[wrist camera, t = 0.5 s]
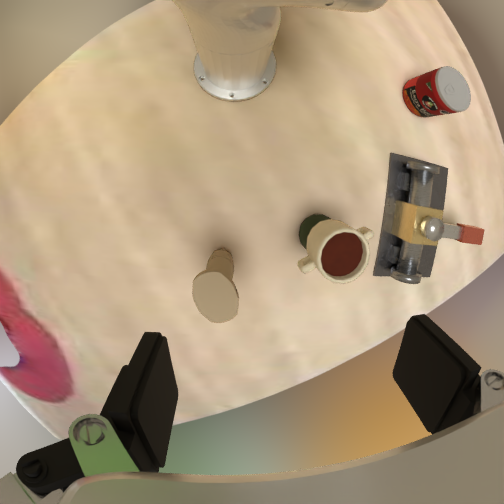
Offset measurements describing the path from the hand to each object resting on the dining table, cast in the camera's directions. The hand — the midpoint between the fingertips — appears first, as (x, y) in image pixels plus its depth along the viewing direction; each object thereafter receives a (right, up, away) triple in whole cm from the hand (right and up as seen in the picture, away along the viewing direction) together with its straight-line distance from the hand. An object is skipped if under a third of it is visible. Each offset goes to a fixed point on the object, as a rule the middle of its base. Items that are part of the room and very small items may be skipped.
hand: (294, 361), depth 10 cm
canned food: (+29, +32, +29) cm, 52 cm away
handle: (-6, +3, +36) cm, 37 cm away
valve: (+28, +10, +36) cm, 46 cm away
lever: (+32, +8, +29) cm, 44 cm away
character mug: (+9, +7, +36) cm, 37 cm away
